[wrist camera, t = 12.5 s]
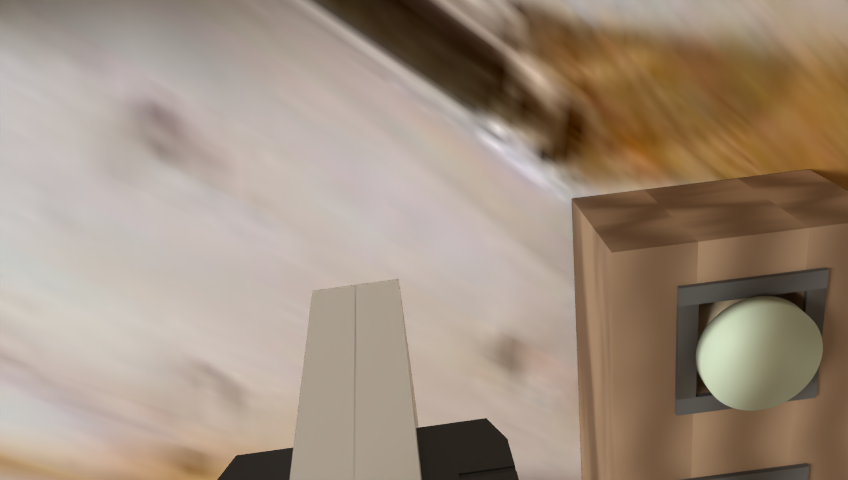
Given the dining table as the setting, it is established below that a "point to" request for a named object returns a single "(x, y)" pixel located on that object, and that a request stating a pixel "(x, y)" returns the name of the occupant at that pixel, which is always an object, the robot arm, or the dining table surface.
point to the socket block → (678, 327)
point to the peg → (756, 351)
